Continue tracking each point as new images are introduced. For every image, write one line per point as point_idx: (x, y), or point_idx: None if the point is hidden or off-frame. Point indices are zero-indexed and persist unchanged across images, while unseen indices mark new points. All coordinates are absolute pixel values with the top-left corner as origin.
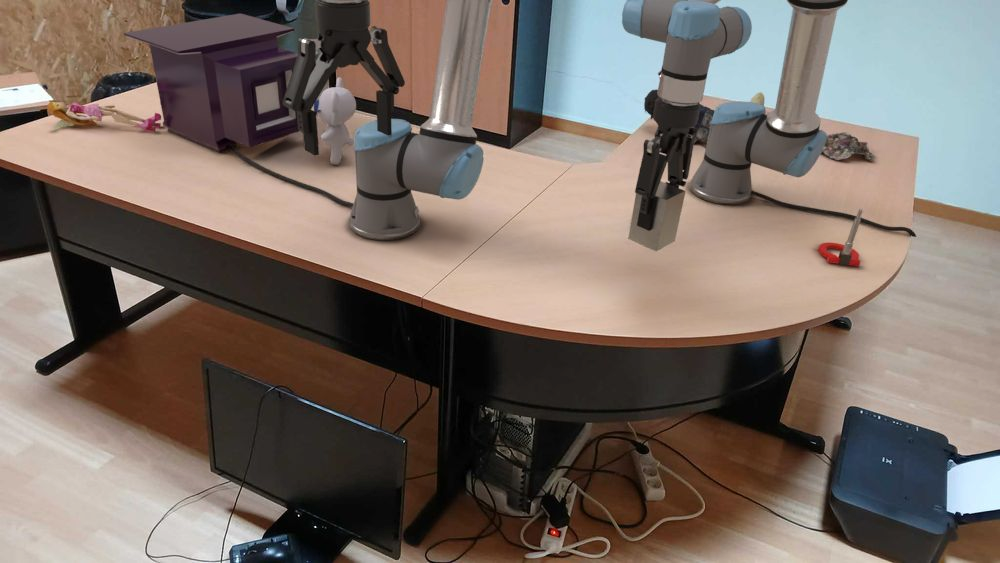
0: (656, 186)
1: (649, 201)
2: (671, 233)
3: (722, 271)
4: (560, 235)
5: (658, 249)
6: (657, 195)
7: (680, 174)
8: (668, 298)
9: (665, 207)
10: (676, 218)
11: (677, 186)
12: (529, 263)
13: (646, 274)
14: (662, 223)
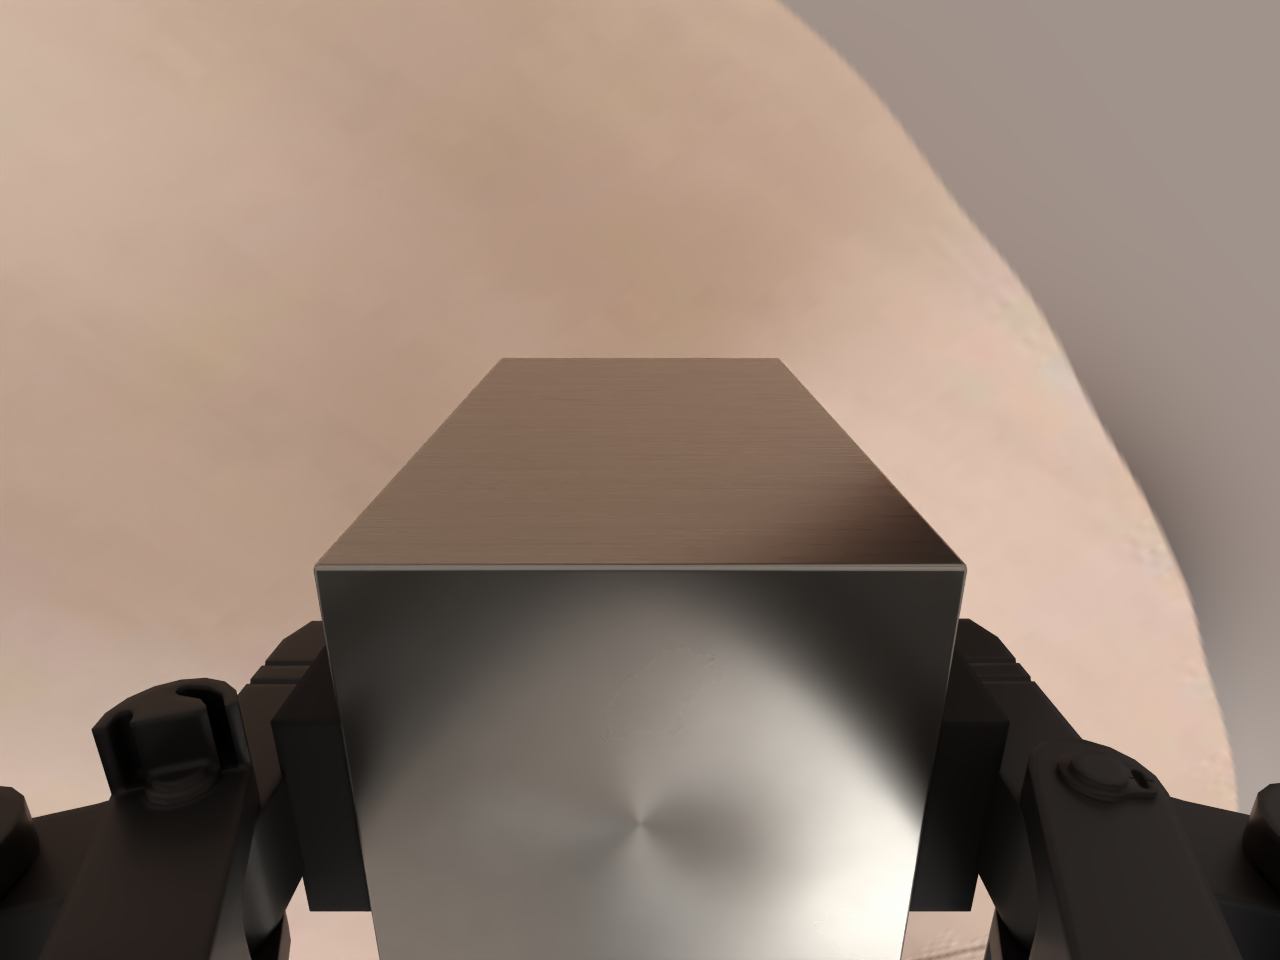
0: (1162, 924)
1: (1030, 729)
2: (582, 380)
3: (58, 218)
4: None
5: (752, 359)
6: (897, 751)
7: (149, 946)
8: (544, 268)
9: (908, 509)
10: (523, 420)
11: (287, 741)
12: None
13: None
14: (834, 429)
